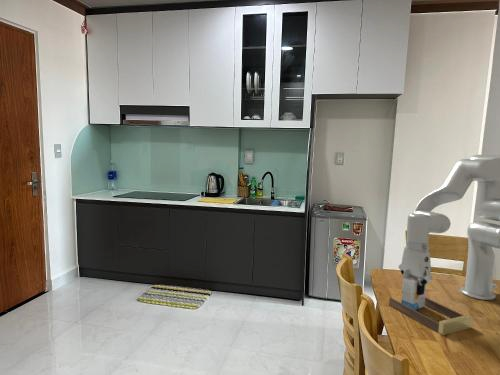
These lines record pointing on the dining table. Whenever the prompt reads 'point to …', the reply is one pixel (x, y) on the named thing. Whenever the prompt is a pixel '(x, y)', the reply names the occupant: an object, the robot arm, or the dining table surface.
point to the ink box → (412, 292)
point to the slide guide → (443, 327)
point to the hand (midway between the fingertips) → (413, 290)
